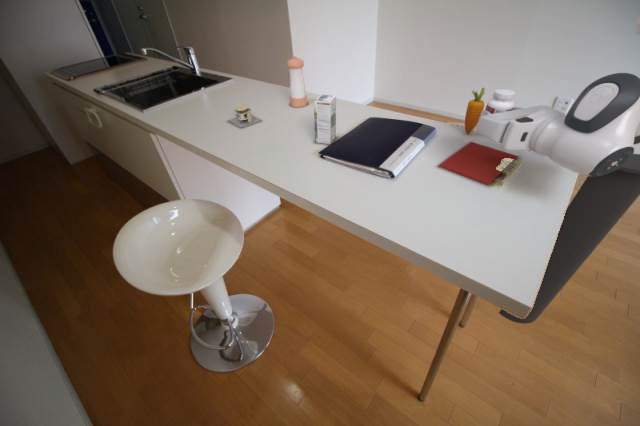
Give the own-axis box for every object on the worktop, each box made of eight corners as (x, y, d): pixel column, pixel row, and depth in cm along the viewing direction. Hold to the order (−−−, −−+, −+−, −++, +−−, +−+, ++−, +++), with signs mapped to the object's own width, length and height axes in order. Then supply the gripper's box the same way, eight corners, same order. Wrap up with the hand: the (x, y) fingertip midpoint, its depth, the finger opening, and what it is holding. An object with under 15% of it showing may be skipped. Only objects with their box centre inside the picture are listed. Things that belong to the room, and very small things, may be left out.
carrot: (463, 137, 97) (476, 91, 87) (457, 131, 101) (469, 86, 91) (477, 136, 97) (493, 90, 87) (471, 130, 101) (485, 85, 91)
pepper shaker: (298, 108, 125) (294, 59, 113) (287, 104, 129) (282, 57, 116) (310, 103, 129) (307, 55, 116) (299, 100, 133) (295, 53, 120)
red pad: (470, 143, 94) (471, 141, 93) (517, 157, 85) (517, 155, 85) (438, 166, 83) (439, 164, 83) (487, 185, 75) (488, 183, 75)
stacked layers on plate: (228, 121, 117) (225, 107, 113) (247, 114, 121) (245, 101, 118) (241, 127, 111) (238, 113, 108) (260, 121, 116) (258, 107, 112)
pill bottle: (483, 138, 76) (498, 95, 69) (474, 129, 81) (486, 88, 74) (507, 137, 76) (524, 94, 69) (496, 128, 81) (511, 87, 74)
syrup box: (320, 135, 103) (318, 93, 93) (336, 137, 101) (336, 95, 92) (315, 142, 99) (312, 99, 89) (331, 144, 97) (330, 101, 88)
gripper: (583, 110, 65) (532, 92, 76) (509, 124, 61) (466, 103, 71) (569, 136, 69) (522, 116, 80) (499, 151, 65) (459, 128, 75)
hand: (495, 110), depth 75 cm, fingers closed on pill bottle, 6 cm apart
